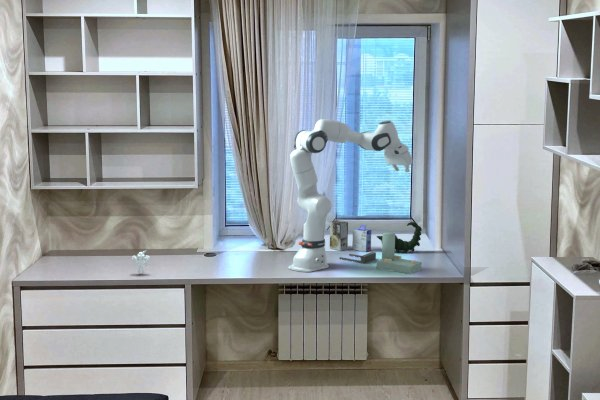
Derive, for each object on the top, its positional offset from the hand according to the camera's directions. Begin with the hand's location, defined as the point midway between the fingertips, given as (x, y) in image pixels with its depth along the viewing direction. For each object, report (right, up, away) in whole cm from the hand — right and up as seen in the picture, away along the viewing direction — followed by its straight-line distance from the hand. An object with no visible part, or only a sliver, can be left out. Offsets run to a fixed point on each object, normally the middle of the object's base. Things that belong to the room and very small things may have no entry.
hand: (402, 171), depth 423 cm
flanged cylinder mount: (-4, -52, -19) cm, 55 cm away
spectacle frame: (-25, -48, 0) cm, 54 cm away
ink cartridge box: (-21, -45, +23) cm, 54 cm away
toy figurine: (0, -46, +18) cm, 49 cm away
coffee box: (-34, -44, +25) cm, 61 cm away
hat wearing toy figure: (-137, -53, -32) cm, 150 cm away
